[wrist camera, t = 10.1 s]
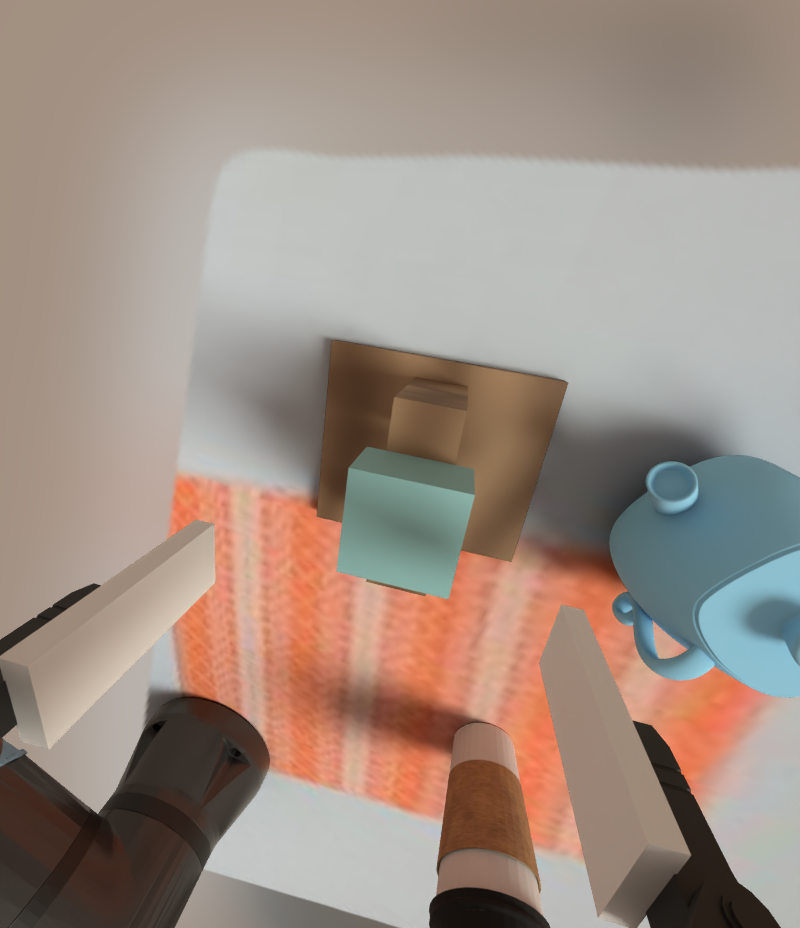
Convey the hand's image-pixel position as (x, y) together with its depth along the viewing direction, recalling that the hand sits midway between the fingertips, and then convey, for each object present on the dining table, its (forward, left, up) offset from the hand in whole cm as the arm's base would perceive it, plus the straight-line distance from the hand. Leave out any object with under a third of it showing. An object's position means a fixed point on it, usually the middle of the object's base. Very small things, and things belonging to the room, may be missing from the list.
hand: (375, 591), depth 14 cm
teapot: (+20, -1, -16) cm, 26 cm away
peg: (0, 0, -14) cm, 14 cm away
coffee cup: (+11, -29, -16) cm, 35 cm away
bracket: (0, 0, -16) cm, 16 cm away
